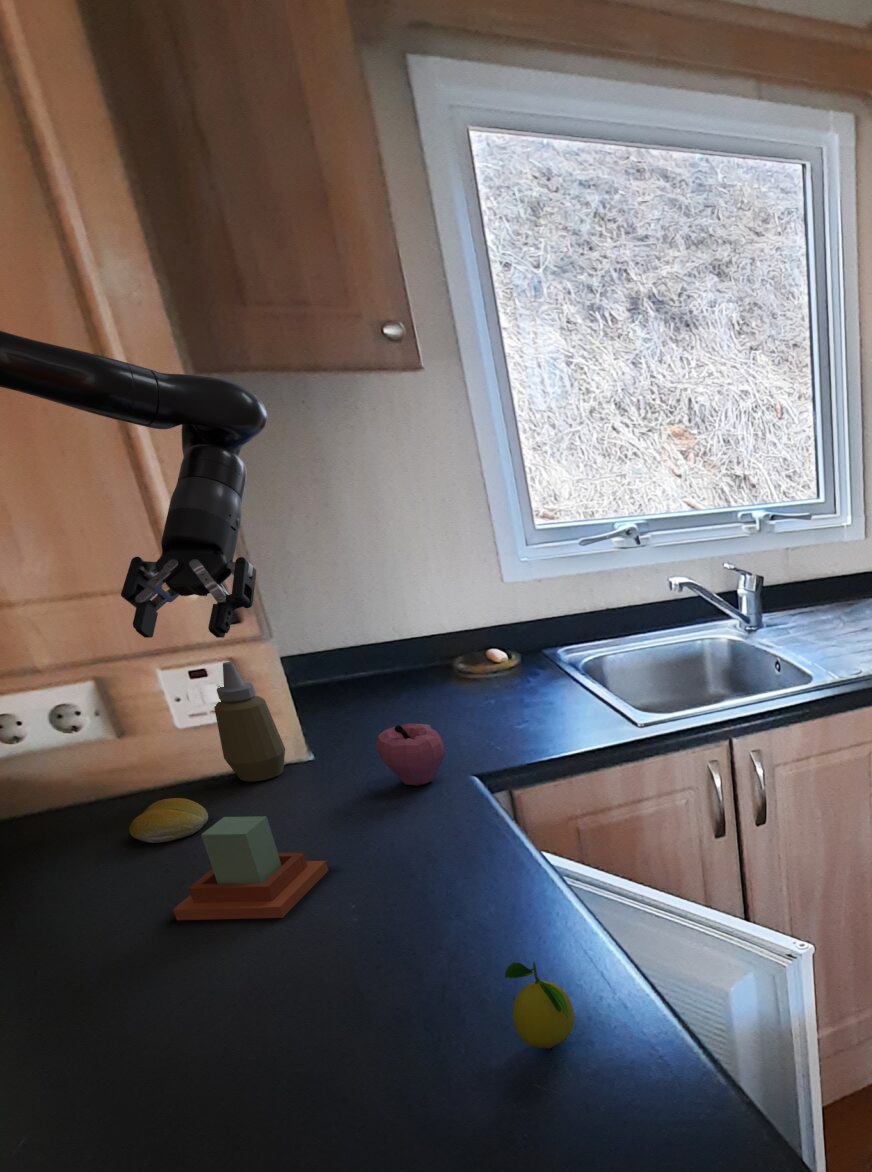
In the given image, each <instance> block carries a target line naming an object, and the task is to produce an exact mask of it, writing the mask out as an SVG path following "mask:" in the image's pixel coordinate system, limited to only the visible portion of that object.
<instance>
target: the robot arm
mask: <svg viewBox="0 0 872 1172" xmlns="http://www.w3.org/2000/svg"><path fill="white" fill-rule="evenodd" d="M0 388H3V389H7V390H11V391H14V392H15V391H16V392H19V393H22V394H26V395H29V396H34V397H37V398H40V399H43V400H47V401H51V402H54V403H57V404H60V405H63V406H66V407H69V408H73V409H76V410H79V411H83V412H87V413H90V414H93V415H97V416H101V417H104V418H108V419H112V420H116V421H121V422H123V423H128V424H133V425H137V426H140V427H145V428H148V429H149V428H150V429H154V430H170V429H173V428H176V427H179V426H181V451H182V456H183V458H182V460H181V463H180V468H179V473H178V477H177V482H176V485H175V488H174V490H173V492H172V494H171V498H170V501H169V506H168V509H167V514H166V518H165V523H164V527H163V532H162V536H161V541H160V544H161V555H160V556H159V558H158V559H157V560H156V561H150V560H149V561H148V560H147V561H146V560H144V559H143V558H141V556H134V557H133V558H131V560H130V564H129V566H128V570H127V573H126V577H125V580H124V583H123V586H122V589H121V592H120V597H121V598H123V599H124V600H125V601H126V602H127V603H129V604H130V605H132V607H134V608H135V612H134V617H133V620H132V627H133V629H135V631H136V633H138V634H139V635H140V636H142V637H144V639H146V638H148V639H149V638H153V637H154V633H155V628H156V625H157V620H158V615H159V612H158V611H159V610H160V609H161V608H162V607H163V606H164V605H165V604H167V603H172V602H174V601H175V600H176V599H177V598H178V597H179V596H180V597H189V596H199V597H208V595H209V594H211V596H212V597H213V598H214V600H215V601H216V603H212V608H211V612H210V616H209V622H208V627H207V628H208V631H209V633H210V634H212V635H213V636H214V637H215V638H217V639H219V638H223V639H224V638H225V636H226V634H228V633H229V632H230V630H231V625H232V621H233V614H234V613H235V612H236V611H237V610H238V609H240V608H244V609H250V608H251V607H253V605H254V595H255V585H256V580H257V568H255V567H254V566H253V564H251V562H249V561H248V560H247V559H246V558H245V557H243V556H239V557H237V558H236V559H235V561H234V558H235V554H236V553H235V552H236V548H237V543H238V537H239V533H240V528H241V522H242V514H243V513H242V512H243V511H242V506H243V499H244V495H245V489H246V485H247V478H248V474H247V473H248V471H247V467H246V464H245V463H244V461H243V460H242V459H241V457H240V453H241V451H242V448H243V447H244V446H246V445H247V444H248V443H249V442H250V441H252V440H253V439H254V438H256V437H257V436H258V435H260V434H261V433H262V432H263V431H264V430H265V428H266V426H267V424H268V411H267V409H266V406H265V405H264V403H263V402H262V400H261V399H260V398H259V397H258V396H257V395H256V394H255V393H254V392H252V391H251V390H250V389H248V388H246V387H245V386H244V385H243V386H242V385H240V383H239V384H238V383H237V382H233V381H231V380H227V379H224V378H218V377H211V376H203V375H194V374H193V375H192V374H184V373H183V374H181V373H165V372H160V371H156V370H153V369H151V368H147V367H144V366H140V365H137V364H132V363H129V362H126V361H122V360H119V359H115V358H112V357H107V356H104V355H99V354H96V353H91V352H87V351H82V350H78V349H74V348H69V347H65V346H60V345H56V344H52V343H48V342H44V341H39V340H35V339H32V338H27V337H24V336H20V335H17V334H14V333H9V332H7V331H4V330H0ZM231 575H232V576H233V580H232V586H231V587H232V588H231V593H230V594H229V592H228V591H227V590H226V588H225V587H224V585H223V583H224V582H225V581H226V580H227V579H228V578H229V577H230V576H231ZM164 584H165V585H166V586H167V587H168V589H167V590H164V589H163V585H164Z"/></svg>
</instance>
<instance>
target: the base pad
mask: <svg viewBox="0 0 872 1172" xmlns="http://www.w3.org/2000/svg"><path fill="white" fill-rule="evenodd" d="M278 855H279V859H280V862H281V865H282V866H281V867H280V868H279V869H278V870H277V871H276V872H275V873H274V874H273V875H271V876H270V877H269V878H268V879H267V880H266V881H265V882H264V883H237V884H218V883H217V880H216V877H215V874H214V872H213V869H212V868H211V869H210V870H208V871H207V872H206V873H205V874H204V875H203V876H201V877H200V878H199V879H198V880H196V881H195V883H193V884H192V885H190V887H188V890H189V893H190V894H189V895H188V896H187V897H186V898H185V899H183V900H182V901H181V902H180V903H179V904H177V905H176V906H175V907H174V908H173V909H172V911H173V914H174V916H175V919H176V921H205V920H206V921H209V920H244V919H246V920H247V919H250V920H251V919H283V918H284V917H285V916H286V915H287V914H288V913H289V912H290V911H291V910H292V909H293V908H294V907H295V906H296V905H297V904H298V903H299V902H300V901H301V900H302V899H303V898H304V896H306V895H307V894H308V893H309V892H310V891H311V889H313V887H314V886H316V884H317V883H318V882H319V881H320V880H321V879H322V878H323V877H324V876H325V875H326V874H327V873H329V868H328V864H327V860H307V859H306V855H305V853H304V852H278Z"/></svg>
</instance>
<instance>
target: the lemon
mask: <svg viewBox="0 0 872 1172" xmlns="http://www.w3.org/2000/svg"><path fill="white" fill-rule="evenodd" d="M532 975H534V979H535V981H533V982H530V983H528V984H527V985H525V986H524V987H522V989H521V990H520V991H519V992H518V994H517V996H516V999H515V1001H514V1004H513V1008H512V1018H513V1023H514V1028H515V1030H516V1033H517V1035H518V1036H519V1037H520V1038H521V1039H522V1041H523V1042H524V1043H526V1044H527V1045H529V1046H531V1047H533V1048H538V1049H539V1048H540V1049H542V1048H543V1049H544V1048H546V1049H552V1048H554V1046H556V1045H558V1044H561V1043H563V1042H564V1041H565V1040H567V1038H568V1037H569V1035H570V1034H571V1033H572V1031H573V1028H574V1023H575V1011H574V1007H573V1004H572V1002H571V999H570V997H569V995H568V994H567V992H566V991H565V990H564V989H563V988H562V987H561V986H559V985H558V984H557V983H556V982H552V981H548V980H540V978H539V977H538V973H537V966H536V961H535V960H534V961H533V962H532V968H529V967H527V966H526V965H524V964H523V963H520V962H513V963H511V964H510V965H509V966H508V967H507V968H506V970H505V973H504V978H507V979H519V978H525V977H528V976H532Z"/></svg>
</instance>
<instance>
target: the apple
mask: <svg viewBox="0 0 872 1172" xmlns="http://www.w3.org/2000/svg"><path fill="white" fill-rule="evenodd" d="M375 747H376V752H377V754H378V756H379V758H380V760H381V762H382V763H384V765H386V767H387V768H388V769H390V771H391V772H393V773H394V774H395V776H397V777H398V778H399V779H400V781H401V782H402V783H403V784H404V785H407V786H408V785H409V786H416V787H417V786H423V785H426V784H428V783H430V782H432V781H433V780H435V779H436V776H437V774H438V771H439V768H440V766H441V764H442V762H443V759H444V757H445V754H446V751H445V746H444V742H443V739H442V738H441V735H440V734H439V732H438V731H437V730H435V729H433V728H432V727H431V725H430V724H427V723H411V722H410V723H409V722H407V723H404V724H401V725H399V724H397V725H395V726H392V727H388V728H387V729H385V730H384V731H382V732H381V733H379V734H378V736H377V738H376V742H375Z"/></svg>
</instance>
